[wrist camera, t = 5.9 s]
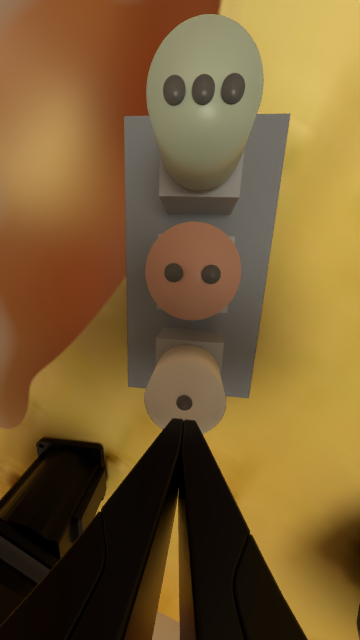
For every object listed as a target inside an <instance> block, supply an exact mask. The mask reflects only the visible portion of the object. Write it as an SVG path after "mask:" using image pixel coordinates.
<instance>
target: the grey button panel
mask: <svg viewBox="0 0 360 640" xmlns="http://www.w3.org/2000/svg"><path fill="white" fill-rule="evenodd" d="M289 120H290V114H257V115H256V118H255V120H254V123H253V126H252V129H251V131H250V134H249V137H248V140H247V142H246V145H245V148H244V151H243V153H242V156H241V159H240V161H239V163H238V165H237V167H236V169H235V170H234V172H233V173H232V174H231V175H230V177H229V178H228V179H227V180H225V181H224V182H223V183H222V184H220V185H219V186H217V187H215V188H212V189H209V190H204V191H194V190H190V189H187V188H184V187H182V186H181V185H179V184H178V183H177V182H175V181H174V180H173V179H172V178H171V176H170V175H169V173H168V172H167V170H166V168H165V166H164V163H163V160H162V157H161V153H160V150H159V147H158V143H157V140H156V136H155V133H154V130H153V126H152V123H151V120H150V116H124V135H125V137H124V138H125V205H126V268H127V269H126V276H127V344H128V387H137V388H146V387H147V385H148V382H149V380H150V378H151V376H152V374H153V372H154V370H155V367H156V365H157V363H158V361H159V359H160V358H161V356H162V355H163V354H164V353H165V352H166V351H168V350H169V349H171V348H173V347H175V346H179V345H194V346H198V347H200V348H203V349H204V350H206V351H207V352H209V353H210V354H211V355H212V356H213V358H214V359H215V360H216V362H217V364H218V367H219V371H220V375H221V379H222V384H223V388H224V392H225V396H231V397H241V398H249V393H250V386H251V380H252V373H253V366H254V359H255V352H256V345H257V339H258V332H259V325H260V318H261V311H262V304H263V298H264V291H265V284H266V277H267V270H268V263H269V257H270V250H271V243H272V236H273V229H274V222H275V216H276V209H277V202H278V195H279V188H280V181H281V174H282V168H283V161H284V154H285V147H286V140H287V133H288V127H289ZM185 222H203V223H207V224H210V225H213V226H215V227H217V228H218V229H220V230H222V231H223V232H224V233H225V234H226V235H227V236H228V237H229V238H230V239H231V240H232V242H233V243H234V245H235V247H236V249H237V251H238V254H239V256H240V261H241V279H240V284H239V287H238V290H237V292H236V294H235V296H234V297H233V299H232V300H231V302H230V303H229V304H228V305H227V306H226V307H225V308H224V309H223V310H221V311H220V312H219V313H217V314H215V315H213V316H211V317H209V318H205V319H202V320H183V319H180V318H177V317H174V316H172V315H170V314H168V313H167V312H165V311H164V310H163V309H162V308H160V307H159V306H158V304H157V303H156V302H155V301H154V299H153V298H152V296H151V294H150V292H149V290H148V286H147V283H146V276H145V268H146V261H147V257H148V254H149V252H150V249H151V247H152V246H153V244H154V243H155V241H156V240H157V239H158V238H159V236H160V235H162V234H163V233H164V232H165V231H167V230H168V229H169V228H171V227H173V226H175V225H178V224H181V223H185Z"/></svg>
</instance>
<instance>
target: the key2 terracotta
mask: <svg viewBox="0 0 360 640" xmlns="http://www.w3.org/2000/svg"><path fill="white" fill-rule="evenodd" d="M145 276H146V283H147V286H148V290H149V292H150V294H151V296H152V298H153V299H154V301H155V302H156V303H157V304H158V306H159V307H160V308H162V309H163V310H164V311H165V312H167V313H168V314H170V315H172V316H174V317H177V318H180V319H183V320H202V319H205V318H209V317H211V316H213V315H215V314H217V313H219V312H220V311H221V310H223V309H224V308H225V307H226V306H227V305H228V304H229V303H230V302H231V300H232V299H233V297H234V296H235V294H236V292H237V290H238V287H239V284H240V279H241V261H240V256H239V254H238V251H237V249H236V247H235V245H234V243H233V242H232V240H231V239H230V238H229V237H228V236H227V235H226V234H225V233H224V232H223V231H222V230H220V229H218V228H217V227H215V226H213V225H210V224H207V223H203V222H185V223H181V224H178V225H175V226H173V227H171V228H169V229H168V230H167V231H165V232H164V233H163V234H162V235H160V236H159V238H158V239H157V240H156V241H155V243H154V244H153V246H152V247H151V249H150V252H149V254H148V257H147V261H146V268H145Z"/></svg>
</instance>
